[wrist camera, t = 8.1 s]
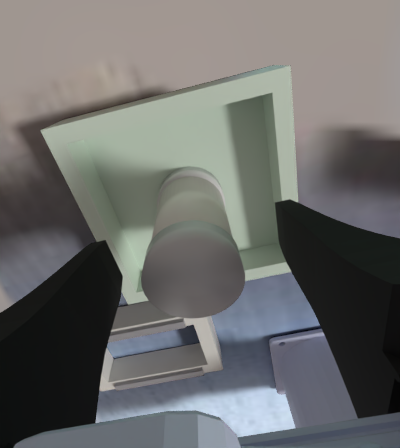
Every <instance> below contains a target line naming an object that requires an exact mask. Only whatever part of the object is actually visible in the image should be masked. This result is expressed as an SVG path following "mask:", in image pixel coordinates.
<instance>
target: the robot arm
mask: <svg viewBox="0 0 400 448" xmlns="http://www.w3.org/2000/svg"><path fill="white" fill-rule="evenodd" d="M275 210H276V220H277V230H278V239H279V245H280V248H281V250H282V253H283V255H284V258H285V260H286V263H287V265H288V266H289V268H290V270H291V272H292V274H293V275H294V277H295V279H296V281H297V282H298V284H299V286H300V288H301V289H302V291H303V293H304V295H305V296H306V298H307V300H308V302H309V303H310V305H311V307H312V309H313V311H314V313H315V315H316V317H317V319H318V321H319V324H320V326H321V328H322V329H317V330H312V331H306V332H301V333H295V334H290V335H285V336H279V337H274V338H271V339H270V340H269V347H270V353H271V359H272V365H273V371H274V378H275V384H276V390H277V393H278V394H281V395H282V394H286V397H287V401H288V404H289V407H290V411H291V414H292V417H293V421H294V424H295V427H296V429H289V430H283V431H276V432H270V433H264V434H257V435H251V436H244V437H237V435H236V433H235V432H234V431H233V430H232V429H231V428H230V427H229V426H228V425H227V424H226V423H225V422H224V421H222V420H221V419H220V418H219V417H216V416H212V415H209V414H206V413H202V412H199V411H166V412H160V413H154V414H148V415H142V416H136V417H130V418H124V419H118V420H112V421H106V422H100V423H95V421H96V412H97V403H98V396H99V388H100V381H101V375H102V369H103V363H104V357H105V352H106V348H107V344H108V340H109V337H110V333H111V330H112V326H113V323H114V319H115V316H116V312H117V308H118V305H119V301H120V297H121V290H122V281H123V275H122V273H121V271H120V269H119V267H118V265H117V263H116V261H115V259H114V257H113V255H112V252H111V250H110V248H109V246H108V244H107V242H106V240H103V241H98V242H94V243H91V244H90V245H88V246H87V247H85V248H84V249H83V250H81V251H80V252H79V253H78V254H77V255H75V256H74V257H73V258H72V259H71V260H70V261H68V262H67V263H66V264H65V265H64V266H63V267H61V268H60V269H59V270H58V271H57V272H55V273H54V274H53V275H52V276H50V277H49V278H48V279H47V280H45V281H44V282H43V283H42V284H41V285H39V286H38V287H37V288H36V289H34V290H33V291H32V292H30V293H29V294H28V295H26V296H25V297H23V298H22V299H21V300H19V301H18V302H16V303H15V304H13V305H12V306H10V307H9V308H7V309H6V310H4V311H3V312H1V313H0V448H400V238H395V237H390V236H386V235H382V234H378V233H374V232H371V231H367V230H364V229H360V228H357V227H354V226H351V225H348V224H346V223H343V222H340V221H338V220H335V219H333V218H330V217H328V216H325V215H323V214H321V213H319V212H317V211H314V210H312V209H310V208H308V207H306V206H304V205H302V204H300V203H298V202H295V201H293V200H291V199H289V200H284V201H280V202H275Z"/></svg>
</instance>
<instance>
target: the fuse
mask: <svg viewBox="0 0 400 448" xmlns="http://www.w3.org/2000/svg"><path fill="white" fill-rule="evenodd" d="M244 284H245V272H244V268H243V264H242V260H241V257H240V253H239V249H238V246H237V244H236V242H235V240H234V239H233V237H232V233H231V229H230V225H229V221H228V217H227V214H226V210H225V198H224V194H223V191H222V187H221V185H220V183H219V181H218V180H217V178H216V177H215V176H214V175H213V174H212V173H210V172H209V171H207V170H205V169H203V168H199V167H190V166H189V167H183V168H179V169H177V170H175V171H173V172H171V173H170V174H169V175H168V176H167V177H166V178H165V179H164V181H163V182H162V184H161V187H160V190H159V195H158V199H157V214H156V219H155V224H154V229H153V234H152V239H151V242H150V243H149V245H148V248H147V251H146V255H145V260H144V265H143V269H142V274H141V286H142V289H143V292H144V294H145V296H146V297H147V299H148V300H149V301H150V302H151V303H152V304H153V305H154V306H155V307H156V308H158V309H159V310H161V311H163V312H165V313H167V314H169V315H172V316H176V317H181V318H203V317H208V316H212V315H215V314H217V313H220V312H221V311H223V310H225V309H227V308H228V307H230V306H231V305H232V304H233V303H234V302H235V301H236V300H237V299H238V297H239V296H240V294H241V292H242V290H243V288H244Z"/></svg>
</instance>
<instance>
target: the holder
mask: <svg viewBox="0 0 400 448" xmlns="http://www.w3.org/2000/svg"><path fill="white" fill-rule="evenodd" d="M189 325H194V327H195V330H196V333H197V335H198V338H199V341H200V343H197V344H192V345H186V346H181V347H176V348H170V349H165V350H159V351H154V352H149V353H143V354H138V355H133V356H127V357H122V358H117V359H114V358H113V357H112V355H111V354H110V352H109V351H108V349H107V348H106V352H105V357H104V363H103V369H102V375H101V381H100V388H99V389H100V391H107V390H113V389H116V390H117V391H119V390H125V389H131V388H136V387H142V386H147V385H153V384H159V383H164V382H170V381H176V380H181V379H187V378H193V377H198V376H204V373H208V372H214V371H220V370H223V364H222V356H221V348H220V344H219V341H218V337H217V334H216V331H215V327H214V324H213V321H212V318H211V316H208V317H203V318H181V317H176V316H172V315H169V314H167V313H165V312H163V311H161V310H159V309H158V308H156V307H155V306H154V305H153V304H152V303H151V302H150V301H148V302H143V303H138V304H133V305H128V306H123V307H118V308H117V312H116V316H115V319H114V323H113V326H112V330H111V333H110V337H109V340H108V342H114V341H119V340H124V339H129V338H135V337H140V336H145V335H150V334H155V333H161V332H166V331H171V330H176V329H182V328H186V326H189Z"/></svg>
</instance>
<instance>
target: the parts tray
mask: <svg viewBox="0 0 400 448" xmlns="http://www.w3.org/2000/svg"><path fill="white" fill-rule="evenodd" d="M40 131H41V133H42V135H43V137H44V139H45V141H46V143H47V145H48V146H49V148H50V150H51V152H52V154H53V156H54V158H55V160H56V162H57V164H58V166H59V168H60V170H61V172H62V174H63V176H64V178H65V180H66V182H67V184H68V186H69V188H70V190H71V192H72V194H73V196H74V198H75V200H76V202H77V204H78V206H79V208H80V210H81V212H82V214H83V216H84V218H85V220H86V222H87V224H88V226H89V228H90V230H91V232H92V234H93V236H94V238H95V240H96V242H98V241H103V240H106V242H107V244H108V246H109V248H110V250H111V252H112V255H113V257H114V259H115V261H116V263H117V265H118V267H119V269H120V271H121V273H122V275H123V281H122V290H121V291H122V293H123V295H124V297H125V299H126V301H127V303H128V305H129V304H134V303H139V302H144V301H149V300H148V299H147V297H146V296H145V294H144V292H143V289H142V286H141V274H142V269H143V265H144V260H145V255H146V251H147V248H148V245H149V243H150V242H151V239H152V234H153V229H154V224H155V219H156V214H157V199H158V195H159V190H160V187H161V184H162V182H163V181H164V179H165V178H166V177H167V176H168V175H169V174H170V173H171V172H173V171H175V170H177V169H179V168H183V167H189V166H190V167H199V168H203V169H205V170H207V171H209V172H210V173H212V174H213V175H214V176H215V177H216V178H217V180H218V181H219V183H220V185H221V187H222V191H223V194H224V198H225V210H226V214H227V217H228V221H229V225H230V229H231V233H232V237H233V239H234V240H235V242H236V244H237V246H238V249H239V253H240V257H241V260H242V264H243V268H244V272H245V281H248V280H253V279H258V278H263V277H268V276H273V275H278V274H283V273H288V272H291V270H290V268H289V266H288V265H287V263H286V260H285V258H284V255H283V253H282V250H281V248H280V245H279V239H278V230H277V220H276V210H275V202H280V201H284V200H289V199H291V200H293V201H295V202H298V189H297V171H296V153H295V135H294V117H293V100H292V82H291V66H283V65H282V66H281V65H280V66H279V65H272V66H269V67H265V68H261V69H257V70H253V71H249V72H245V73H242V74H238V75H234V76H230V77H227V78H222V79H218V80H215V81H211V82H207V83H203V84H199V85H195V86H192V87H188V88H184V89H180V90H176V91H172V92H168V93H165V94H161V95H157V96H153V97H149V98H145V99H141V100H138V101H134V102H130V103H126V104H122V105H118V106H114V107H111V108H107V109H103V110H99V111H95V112H91V113H87V114H84V115H80V116H76V117H72V118H68V119H64V120H62V121H59V122H57V123H55V124H53V125H51V126H49V127H46V128H44V129H42V130H40Z"/></svg>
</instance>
